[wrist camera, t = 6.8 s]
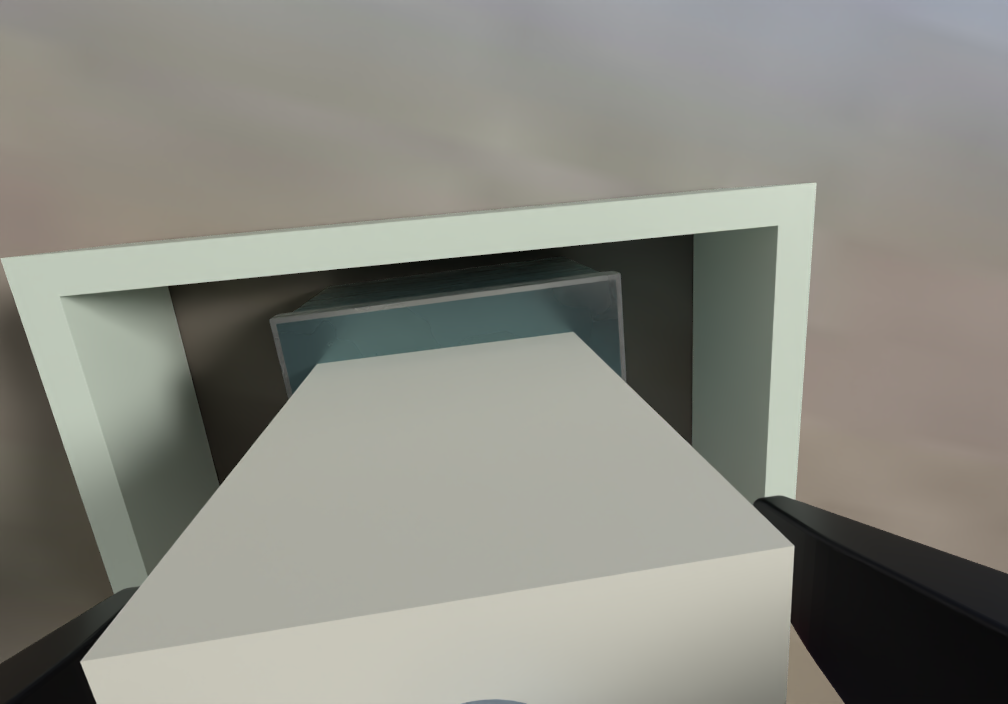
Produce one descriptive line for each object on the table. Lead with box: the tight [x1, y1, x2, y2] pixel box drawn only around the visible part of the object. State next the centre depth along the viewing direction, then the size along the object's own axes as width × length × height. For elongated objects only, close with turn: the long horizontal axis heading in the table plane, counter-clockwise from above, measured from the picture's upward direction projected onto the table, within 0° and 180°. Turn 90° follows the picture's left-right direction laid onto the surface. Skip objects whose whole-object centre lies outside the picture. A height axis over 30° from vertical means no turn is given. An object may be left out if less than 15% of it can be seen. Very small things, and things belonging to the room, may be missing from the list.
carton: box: [80, 332, 794, 704], centre depth 8 cm, size 5×5×8 cm
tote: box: [0, 183, 816, 594], centre depth 16 cm, size 23×16×4 cm
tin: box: [269, 256, 627, 400], centre depth 14 cm, size 7×7×5 cm
